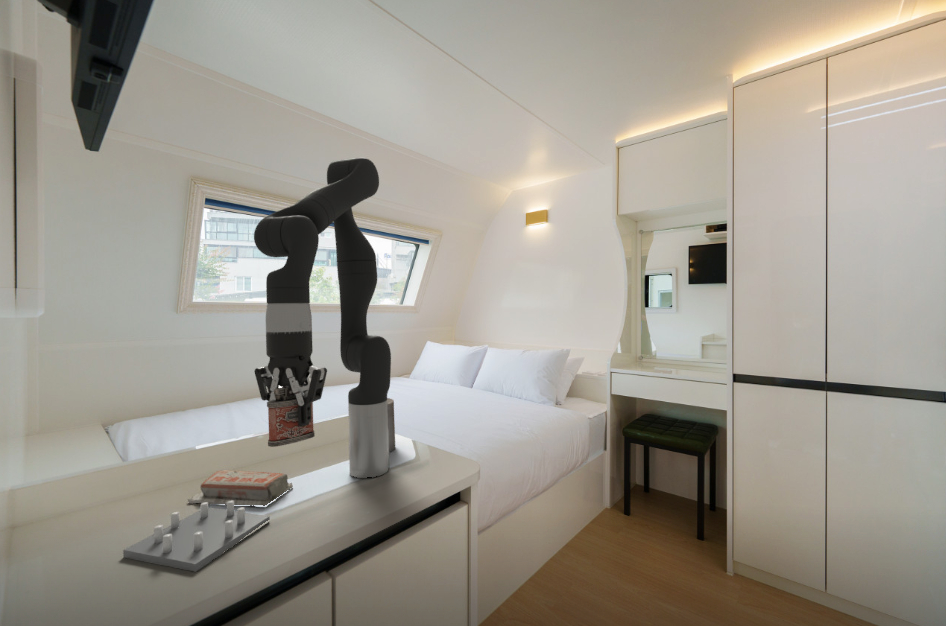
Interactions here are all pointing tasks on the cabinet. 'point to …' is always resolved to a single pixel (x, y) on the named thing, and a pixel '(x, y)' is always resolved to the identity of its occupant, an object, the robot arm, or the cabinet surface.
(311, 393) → the robot arm
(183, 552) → the pin tray
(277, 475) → the packaged product
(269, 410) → the lighter
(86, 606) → the cabinet surface
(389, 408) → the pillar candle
